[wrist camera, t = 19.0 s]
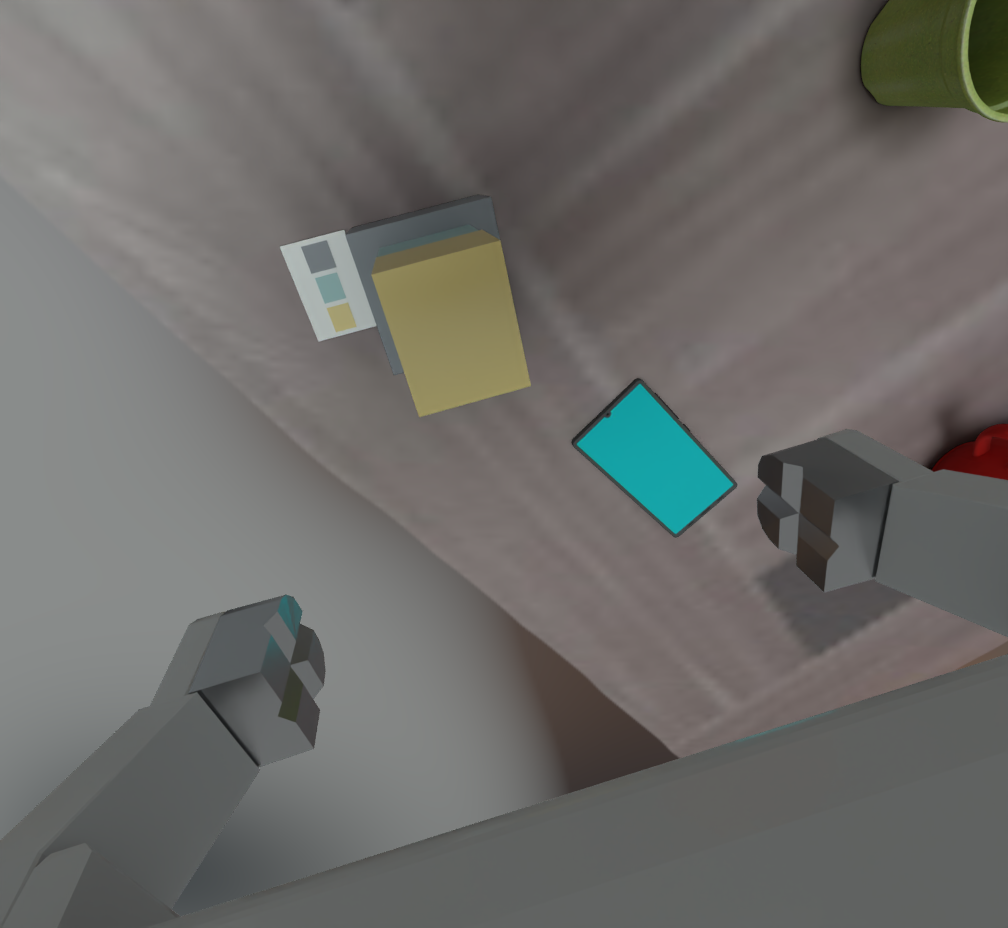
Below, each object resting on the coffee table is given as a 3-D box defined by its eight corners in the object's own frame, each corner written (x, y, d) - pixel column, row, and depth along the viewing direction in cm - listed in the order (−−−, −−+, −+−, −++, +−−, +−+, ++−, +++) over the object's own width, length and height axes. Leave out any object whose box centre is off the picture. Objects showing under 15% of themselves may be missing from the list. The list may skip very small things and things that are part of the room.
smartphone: (676, 539, 48) (571, 444, 41) (671, 533, 49) (568, 440, 42) (739, 484, 46) (641, 377, 40) (734, 480, 47) (637, 373, 40)
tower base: (352, 227, 32) (344, 234, 28) (478, 194, 32) (491, 196, 28) (394, 351, 36) (393, 375, 32) (506, 321, 36) (521, 340, 32)
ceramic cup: (1000, 349, 45) (1144, 389, 36) (1030, 472, 53) (1154, 529, 44) (866, 443, 47) (971, 502, 39) (914, 548, 55) (1010, 616, 46)
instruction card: (279, 246, 32) (279, 246, 32) (344, 229, 32) (344, 229, 32) (318, 341, 35) (318, 341, 35) (377, 325, 35) (377, 326, 35)
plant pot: (839, -34, 30) (986, -105, 23) (991, -75, 30) (1185, -158, 23) (827, 151, 35) (946, 143, 27) (959, 113, 35) (1111, 95, 28)
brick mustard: (376, 257, 24) (371, 274, 20) (481, 229, 24) (500, 240, 20) (415, 379, 27) (419, 417, 23) (509, 353, 27) (531, 385, 23)
